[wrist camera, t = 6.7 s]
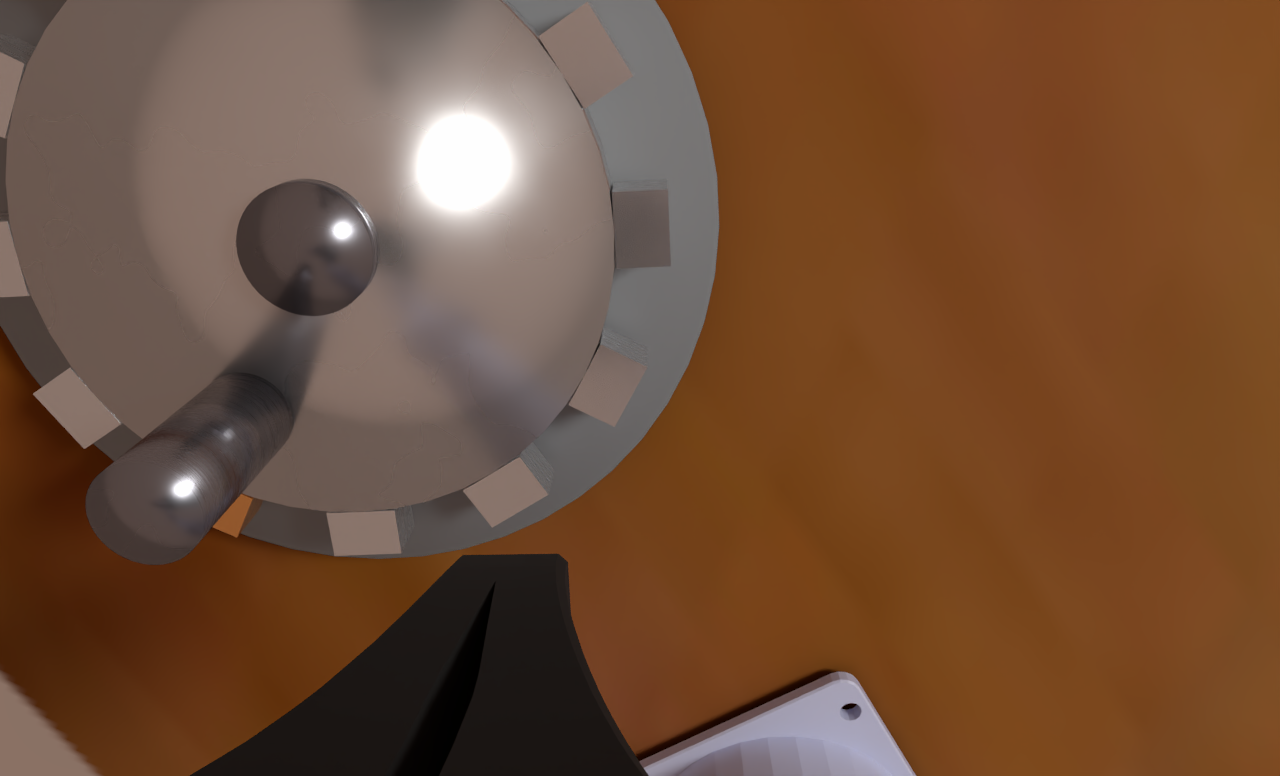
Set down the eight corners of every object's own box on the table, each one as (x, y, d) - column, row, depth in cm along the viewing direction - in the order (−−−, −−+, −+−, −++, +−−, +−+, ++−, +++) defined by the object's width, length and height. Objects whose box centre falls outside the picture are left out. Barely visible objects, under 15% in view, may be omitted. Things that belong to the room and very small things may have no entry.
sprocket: (502, 613, 21) (459, 785, 17) (-74, 366, 19) (-316, 479, 15) (793, 79, 17) (849, 100, 12) (97, -308, 15) (-162, -464, 10)
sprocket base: (840, 342, 20) (851, 361, 19) (291, 634, 23) (273, 664, 22) (445, -391, 16) (429, -423, 15) (-178, 83, 19) (-231, 87, 18)
